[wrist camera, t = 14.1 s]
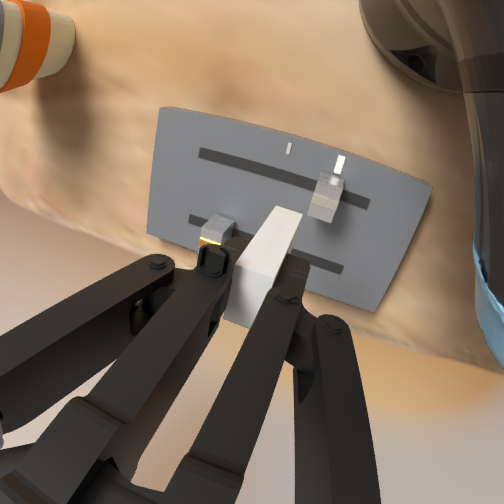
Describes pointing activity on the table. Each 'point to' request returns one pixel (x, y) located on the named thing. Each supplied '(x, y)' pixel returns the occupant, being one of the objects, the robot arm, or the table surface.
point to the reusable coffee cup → (32, 42)
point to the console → (284, 198)
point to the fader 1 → (216, 231)
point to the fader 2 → (326, 197)
